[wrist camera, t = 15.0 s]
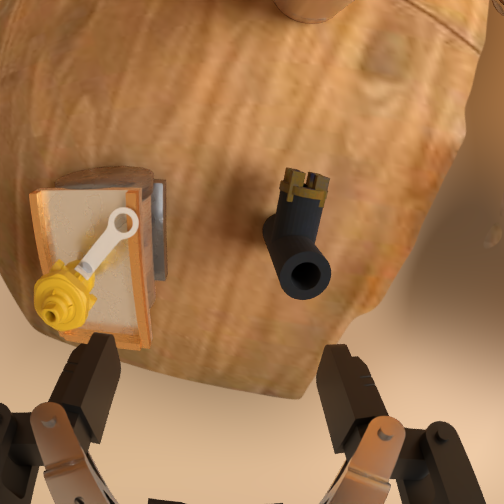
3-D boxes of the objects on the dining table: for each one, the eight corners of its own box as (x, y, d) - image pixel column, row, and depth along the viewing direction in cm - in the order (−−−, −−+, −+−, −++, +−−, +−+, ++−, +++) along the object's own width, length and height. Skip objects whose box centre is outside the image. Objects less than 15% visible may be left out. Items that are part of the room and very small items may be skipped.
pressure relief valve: (52, 271, 29) (13, 314, 20) (118, 187, 29) (89, 202, 19) (89, 303, 31) (62, 356, 22) (158, 224, 31) (147, 256, 21)
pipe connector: (273, 162, 41) (298, 176, 26) (312, 170, 41) (354, 187, 27) (258, 245, 44) (273, 296, 30) (295, 250, 45) (325, 302, 31)
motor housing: (83, 165, 38) (26, 195, 25) (166, 164, 39) (134, 194, 26) (95, 280, 46) (58, 339, 33) (168, 285, 47) (148, 351, 34)
